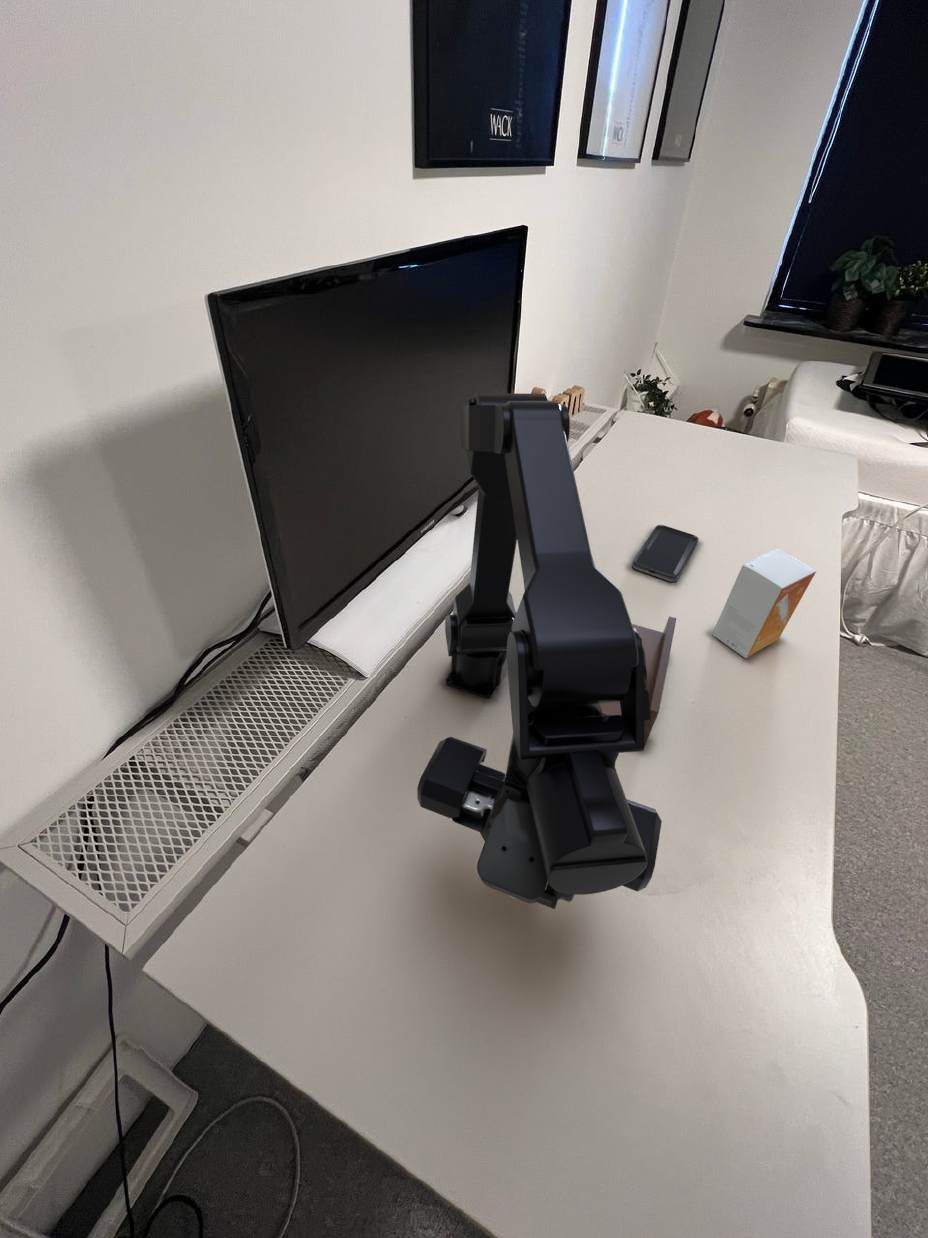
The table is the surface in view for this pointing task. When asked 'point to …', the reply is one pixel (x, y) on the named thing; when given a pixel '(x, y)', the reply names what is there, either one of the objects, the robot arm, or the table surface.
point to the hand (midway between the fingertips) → (524, 858)
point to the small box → (762, 601)
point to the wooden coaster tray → (651, 670)
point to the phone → (665, 553)
